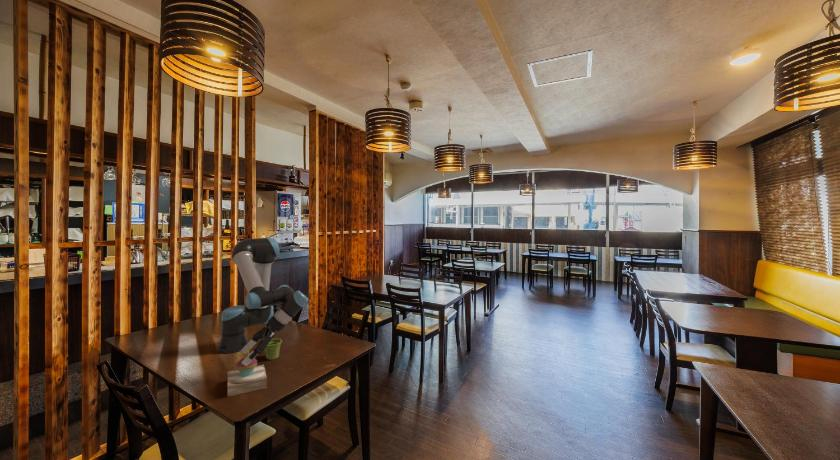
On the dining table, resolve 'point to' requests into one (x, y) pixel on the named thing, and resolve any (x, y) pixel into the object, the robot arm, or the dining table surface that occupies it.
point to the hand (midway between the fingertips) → (243, 358)
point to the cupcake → (246, 369)
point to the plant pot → (273, 349)
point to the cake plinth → (246, 381)
